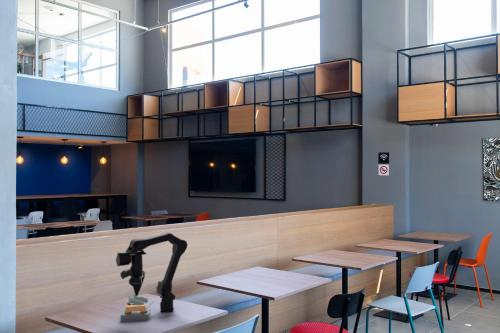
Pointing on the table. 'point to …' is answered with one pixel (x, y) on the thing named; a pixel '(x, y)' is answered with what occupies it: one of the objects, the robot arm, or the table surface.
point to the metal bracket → (139, 301)
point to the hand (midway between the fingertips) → (137, 293)
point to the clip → (135, 308)
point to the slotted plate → (135, 316)
